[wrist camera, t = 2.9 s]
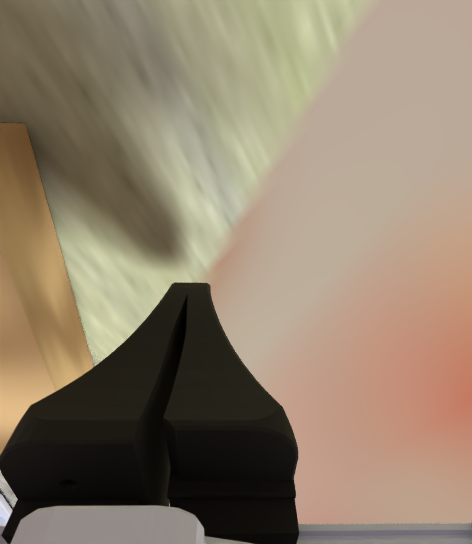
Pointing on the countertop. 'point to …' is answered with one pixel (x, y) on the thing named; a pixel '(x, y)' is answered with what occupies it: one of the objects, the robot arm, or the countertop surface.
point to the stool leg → (32, 290)
